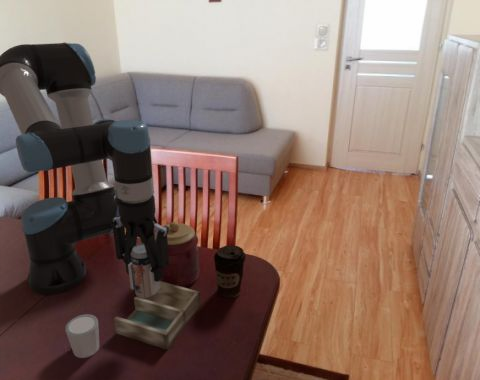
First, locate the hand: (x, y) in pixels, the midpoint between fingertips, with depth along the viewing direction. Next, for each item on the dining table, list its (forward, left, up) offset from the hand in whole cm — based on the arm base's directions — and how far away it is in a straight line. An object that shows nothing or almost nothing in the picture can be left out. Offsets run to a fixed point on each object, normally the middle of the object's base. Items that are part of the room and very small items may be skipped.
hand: (145, 288), depth 92 cm
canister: (-5, +22, -12) cm, 25 cm away
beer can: (0, 0, -2) cm, 2 cm away
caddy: (0, +4, -12) cm, 13 cm away
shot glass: (-10, -11, -12) cm, 19 cm away
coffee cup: (+12, +20, -12) cm, 27 cm away
